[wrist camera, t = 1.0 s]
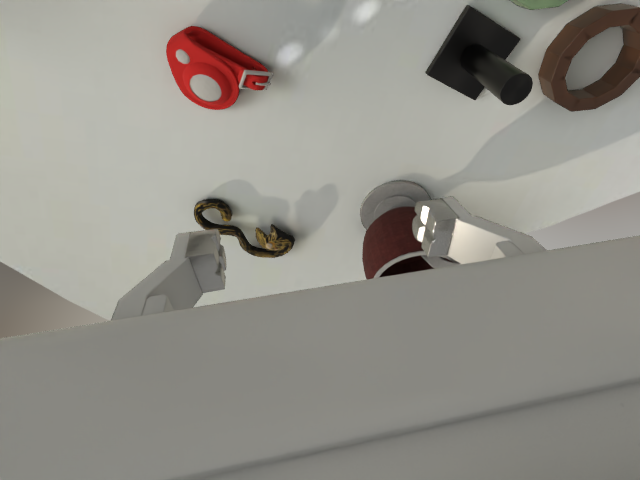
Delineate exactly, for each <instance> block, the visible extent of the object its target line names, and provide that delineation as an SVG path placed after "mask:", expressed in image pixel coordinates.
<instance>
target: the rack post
mask: <svg viewBox="0 0 640 480" xmlns="http://www.w3.org/2000/svg"><path fill="white" fill-rule="evenodd" d="M519 41H520V38H519V37H517V36H516V35H514V34H512V33H511V32H509V31H508V30H506V29H505V28H503V27H501V26H500V25H498V24H497V23H495V22H494V21H492V20H491V19H489V18H487V17H486V16H484V15H483V14H481V13H480V12H478V11H476V10H475V9H473V8H472V7H470V6H468V5H467V6H466V7H465V9H464V11H463V12H462V14H461V15H460V17H459V19H458V20H457V22H456V24H455V25H454V27H453V28H452V30H451V32H450V33H449V35H448V37H447V38H446V40H445V41H444V43H443V45H442V46H441V48H440V50H439V51H438V53H437V54H436V56H435V58H434V59H433V61H432V63H431V64H430V66H429V67H428V69H427V71H426V74H427V75H429V76H431V77H432V78H434V79H436V80H438V81H440V82H442V83H444V84H445V85H447V86H449V87H451V88H453V89H455V90H457V91H458V92H460V93H462V94H464V95H466V96H468V97H470V98H471V99H473V100H476V98H477V97H478V96H479V94H480V93H481V92H482V90H483V89H484V88H487V89H488V90H489V91H490V92H491V93H492V94H494V95H495V96H496V97H497V98H498V99H499V100H501V101H502V102H503V103H504V104H507V105H514V104H517V103H519V102H521V101H523V100H524V99H525V98H526V97H527V96H528V94H529V93H530V91H531V89H532V84H533V82H532V78H531V77H530V76H529V75H528V74H526V73H525V72H523V71H522V70H520V69H518V68H517V67H515V66H514V65H512V64H510V63H509V62H507V61H506V60H505V59H506V58H507V57H508V55H509V54H510V53H511V51H512V50H513V49H514V47H515V46H516V45H517V43H518V42H519Z"/></svg>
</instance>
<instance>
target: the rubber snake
mask: <svg viewBox="0 0 640 480" xmlns="http://www.w3.org/2000/svg"><path fill="white" fill-rule="evenodd" d="M209 208H216V209H217V210H219V211H220V213H221V216H222V219H223V220H224V221H230V220H231V216H232V214H231V211H230V209H229V207H228V205H226V204H225V203H224V202H222V201H220V200H216V199H206V200H202V201H200V202H198V203H197V204H196V205H195V209H194V216H195V220H196V222H197V223H198V224H199V225H200V226H201V227H202V228H203V229H205V230H212V229H218V231H219V234H220V235H232V236H235V237H237V238H238V240H239V243H240V246H241V247H242V248H243V249H244V250H245V251H246V252H248V253H249V254H251V255H254V256H258V257H269V258H270V257H272V258H275V257H279V256H282V255H284V254H286V253H288V251H290V250H291V249H292V247H293V245H294V241H295V239H294V237H293V236H292V235H288V234H286V233H285V232H283V231H281V230H279V229H278V228H276V227H275V226H274V225H271V231H270V234H269V235H267V234H265V233H264V232H263V231H262V230H261V229H259V228H256V230H255V231H256V238H257V241H258V242H259V244H260V245H261V246H262V247H263V248H266V249H262V248H258V247H255V246H252V245H251V244H250V243H249V242H248V241H247V239H246V237H245V236H244V234H243V232H242V231H241V230H240V229H239V228H238V227H236V226H231V225H219V224H214V223H211V222H210V221H208V220H207V219H205V218H204V217H203V215H202V212H203V211H204V210H206V209H209Z"/></svg>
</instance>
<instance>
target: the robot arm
mask: <svg viewBox="0 0 640 480" xmlns="http://www.w3.org/2000/svg"><path fill="white" fill-rule="evenodd" d="M414 211H415V212H416V214H417V215H416V216H415V217H414V219H413V222H412V230H413V234H414V237H415V238H416V240H417V241H419V242H421V243H422V246H421V247H422V249H423V250H424V252H425V253H426V255H427V256H428V257H433V256H441V255H447V256H449V257H451V258H452V259H454V260H455V261H457V262H459V263H460V265H454V266H448V267H441V268H435V269H429V270H423V271H417V272H411V273H404V274H398V275H392V276H386V277H380V278H373V279H367V280H361V281H355V282H349V283H342V284H336V285H330V286H324V287H318V288H311V289H305V290H299V291H293V292H287V293H280V294H274V295H268V296H262V297H256V298H249V299H243V300H237V301H231V302H225V303H218V304H212V305H206V306H200V307H194V305H195V304H196V303H197V301H198V300H199V299H200V297H201V296H202V295H203V294H202V293H206V292H211V291H217V290H222V289H225V279H226V277H225V273H224V271H225V270H226V256H225V251H224V247H223V246H222V245H221V244H220V240H221V237H220V234H219V231H218V229H212V230H203V231H194V232H186V233H179V234H177V235H176V238H175V242H174V245H173V249H172V253H171V257H170V260H168V261H165V262H164V263H163V264H161V265H160V266H159V267H158V268H157V269H155V270H154V271H153V272H152V273H151V274H149V275H148V276H147V277H146V278H145V279H143V280H142V281H141V282H140V283H139V284H138V285H136V286H135V287H134V288H133V289H132V290H130V291H129V292H128V293H127V294H126V295H124V296H123V297H122V298H121V299H120V300H119V301H118V304H117V306H116V309H115V311H114V314H113V316H112V319H111V321H107V322H102V323H95V324H89V325H82V326H76V327H70V328H64V329H58V330H52V331H45V332H39V333H33V334H27V335H20V336H13V337H6V338H0V480H640V236H633V237H627V238H621V239H615V240H608V241H602V242H596V243H590V244H584V245H578V246H572V247H566V248H560V249H554V250H546V249H545V248H544V247H542V246H541V245H540V244H539V243H538V242H537V241H536V240H535V239H534V238H533V237H531V236H529V235H526V234H523V233H521V232H518V231H515V230H512V229H510V228H507V227H504V226H502V225H499V224H496V223H493V222H491V221H488V220H485V219H483V218H480V217H477V216H472V215H471V214H470V213H469V212H468V211H467V210H466V209H465V208H464V207H463V206H462V205H461V204H460V203H459V202H458V201H457V200H456V199H455V198H454V197H451V196H450V197H444V198H440V199H433V200H427V201H420V202H417V203H416V205H415V209H414ZM193 307H194V308H193Z"/></svg>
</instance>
